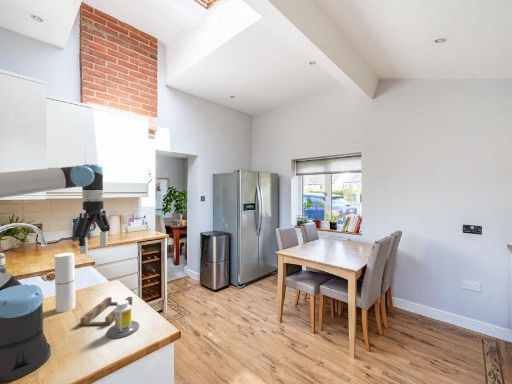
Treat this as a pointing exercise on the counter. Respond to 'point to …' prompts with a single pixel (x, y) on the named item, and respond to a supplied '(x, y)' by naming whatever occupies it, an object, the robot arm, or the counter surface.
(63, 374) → the counter surface
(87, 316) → the walnut rack
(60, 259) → the cylindrical container
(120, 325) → the supplement bottle
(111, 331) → the slate pad
